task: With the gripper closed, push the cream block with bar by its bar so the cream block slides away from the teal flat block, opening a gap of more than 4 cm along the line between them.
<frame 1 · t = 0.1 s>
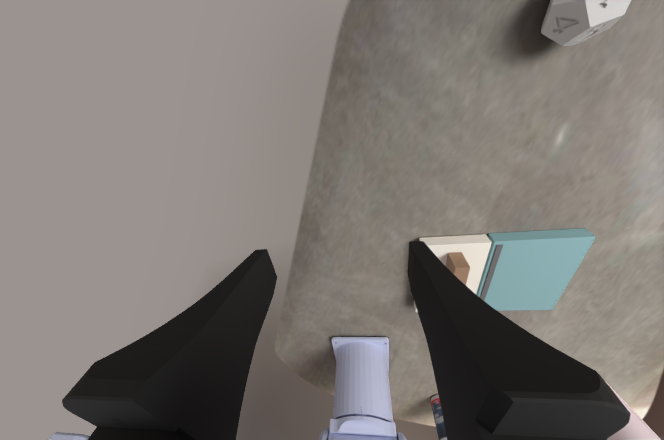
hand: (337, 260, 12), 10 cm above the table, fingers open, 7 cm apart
game die: (561, 10, 14), on the table
smoothie: (589, 383, 36), on the table
pill bottle: (444, 397, 42), on the table
cream block with bar: (450, 284, 24), point 2 cm above the table, slide at 0.0 cm
teal flat block: (519, 269, 24), on the table
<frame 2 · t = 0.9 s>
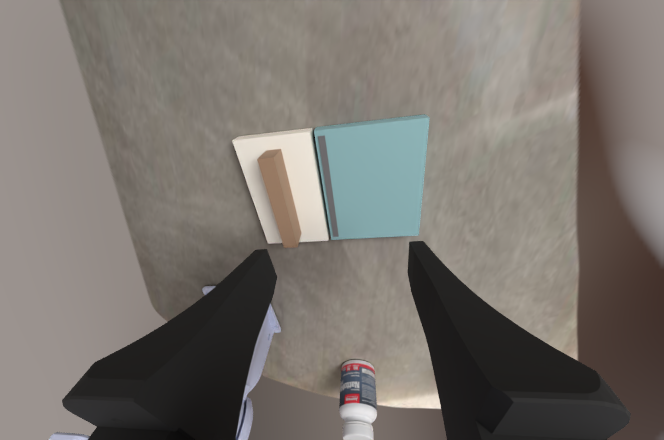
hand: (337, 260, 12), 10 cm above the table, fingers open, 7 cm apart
pill bottle: (357, 365, 38), on the table
cream block with bar: (284, 198, 20), point 2 cm above the table, slide at 0.0 cm
teal flat block: (371, 182, 20), on the table
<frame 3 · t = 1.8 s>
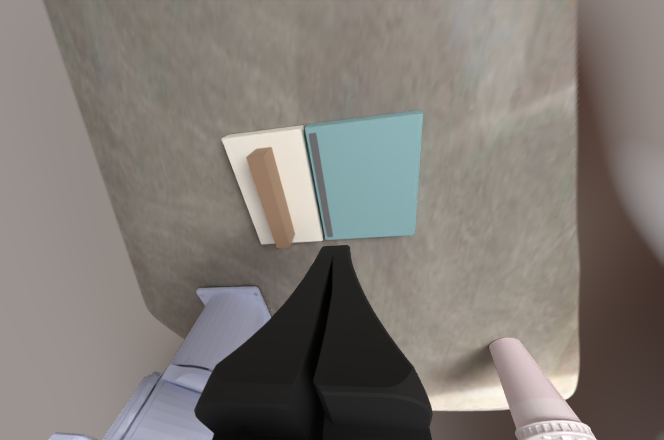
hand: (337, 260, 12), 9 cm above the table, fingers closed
smoothie: (503, 344, 31), on the table
cream block with bar: (276, 198, 19), point 2 cm above the table, slide at 0.0 cm
teal flat block: (365, 181, 20), on the table
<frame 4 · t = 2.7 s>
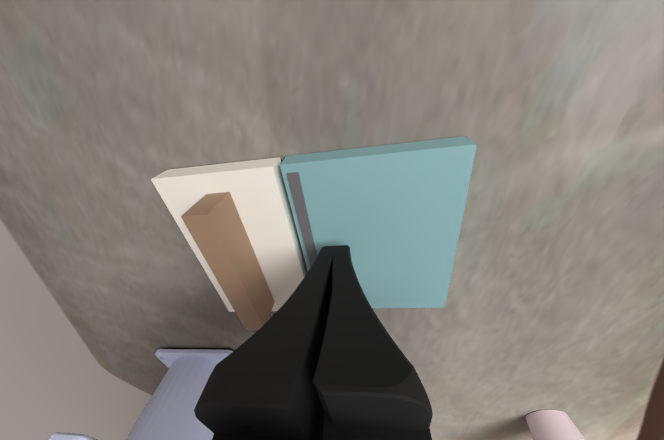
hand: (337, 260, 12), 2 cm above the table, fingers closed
smoothie: (544, 414, 25), on the table
cream block with bar: (243, 261, 13), point 2 cm above the table, slide at 0.0 cm
teal flat block: (374, 234, 13), on the table
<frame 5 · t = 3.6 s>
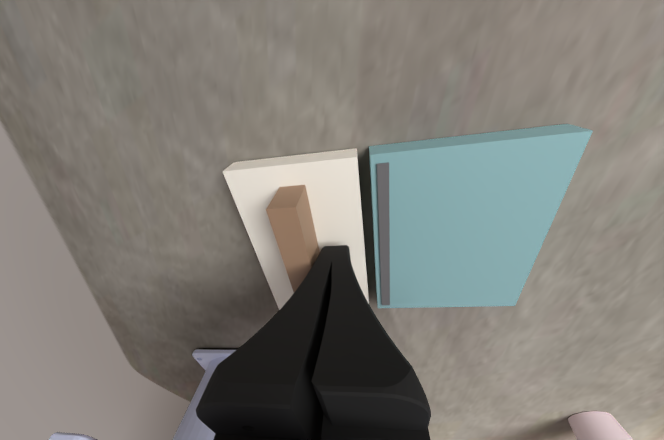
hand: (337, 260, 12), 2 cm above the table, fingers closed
smoothie: (587, 415, 24), on the table
cream block with bar: (307, 257, 12), point 2 cm above the table, slide at 0.2 cm, touching gripper
teal flat block: (447, 229, 13), on the table
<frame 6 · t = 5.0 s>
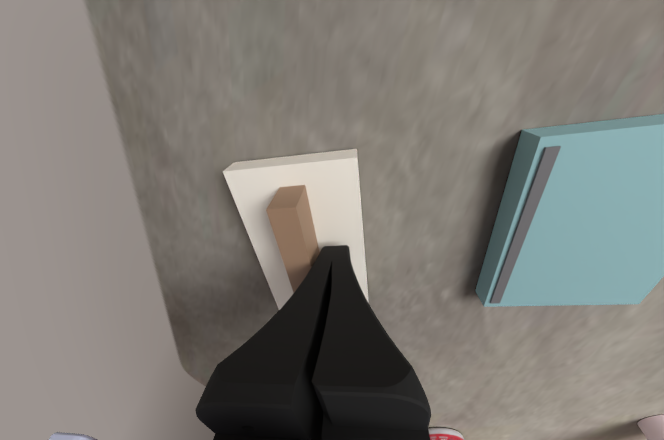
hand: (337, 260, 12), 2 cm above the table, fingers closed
smoothie: (659, 419, 23), on the table
pill bottle: (439, 431, 30), on the table
cream block with bar: (307, 257, 12), point 2 cm above the table, slide at 6.6 cm, touching gripper
teal flat block: (578, 222, 12), on the table
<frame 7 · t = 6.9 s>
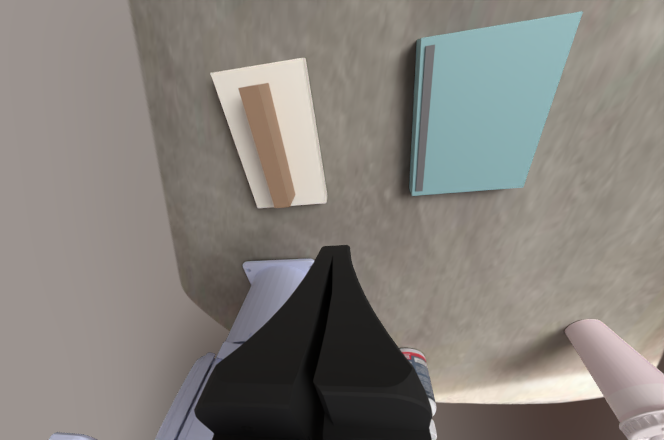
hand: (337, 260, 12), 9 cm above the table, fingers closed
smoothie: (582, 326, 28), on the table
pill bottle: (405, 355, 34), on the table
cream block with bar: (274, 148, 17), point 2 cm above the table, slide at 6.6 cm
teal flat block: (471, 119, 16), on the table
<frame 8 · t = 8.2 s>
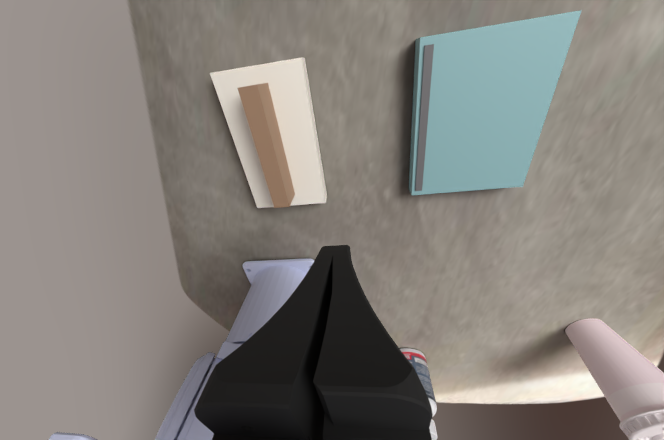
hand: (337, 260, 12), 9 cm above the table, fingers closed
smoothie: (582, 326, 28), on the table
pill bottle: (405, 355, 34), on the table
cream block with bar: (273, 148, 17), point 2 cm above the table, slide at 6.6 cm
teal flat block: (471, 118, 16), on the table
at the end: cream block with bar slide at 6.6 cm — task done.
